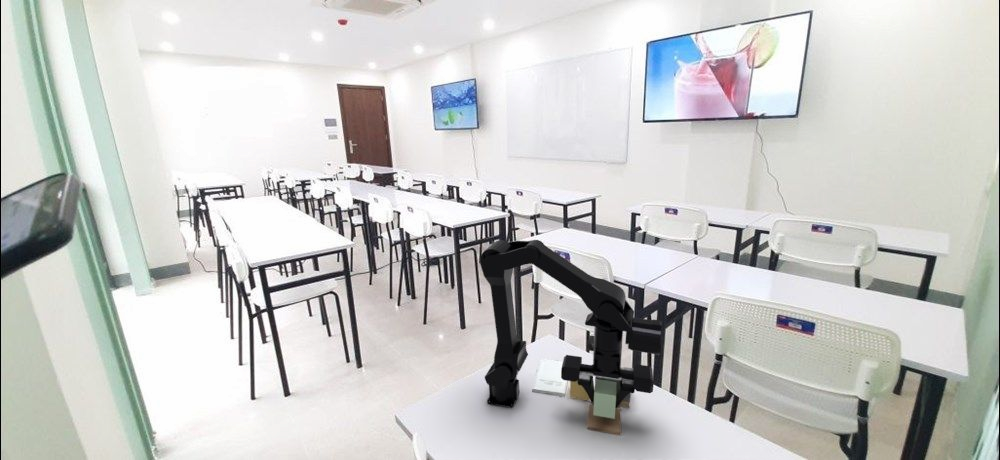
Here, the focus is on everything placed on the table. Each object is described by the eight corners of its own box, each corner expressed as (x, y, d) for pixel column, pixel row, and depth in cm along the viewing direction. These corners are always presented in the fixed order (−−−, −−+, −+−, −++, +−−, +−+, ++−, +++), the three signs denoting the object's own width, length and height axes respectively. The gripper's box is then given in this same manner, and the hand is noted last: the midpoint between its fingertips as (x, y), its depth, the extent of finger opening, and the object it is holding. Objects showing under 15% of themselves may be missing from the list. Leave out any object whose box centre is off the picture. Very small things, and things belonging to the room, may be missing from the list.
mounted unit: (594, 401, 97) (595, 377, 95) (595, 387, 102) (596, 363, 100) (629, 407, 95) (631, 382, 93) (629, 392, 100) (630, 368, 97)
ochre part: (570, 397, 99) (570, 376, 97) (572, 385, 103) (572, 365, 101) (589, 400, 98) (589, 379, 96) (590, 388, 102) (591, 367, 100)
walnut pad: (586, 429, 89) (587, 426, 89) (589, 407, 95) (589, 404, 95) (620, 435, 87) (620, 432, 87) (620, 412, 93) (620, 409, 93)
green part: (593, 415, 89) (594, 392, 87) (594, 401, 93) (595, 379, 91) (614, 418, 88) (616, 395, 86) (615, 404, 92) (616, 382, 90)
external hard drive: (570, 367, 111) (565, 398, 99) (540, 363, 113) (531, 393, 101) (570, 362, 110) (565, 393, 99) (540, 358, 112) (531, 388, 101)
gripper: (652, 329, 90) (647, 387, 95) (567, 319, 95) (566, 375, 100) (656, 358, 80) (650, 423, 85) (561, 346, 85) (560, 407, 90)
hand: (604, 405), depth 90 cm, fingers closed on green part, 4 cm apart
